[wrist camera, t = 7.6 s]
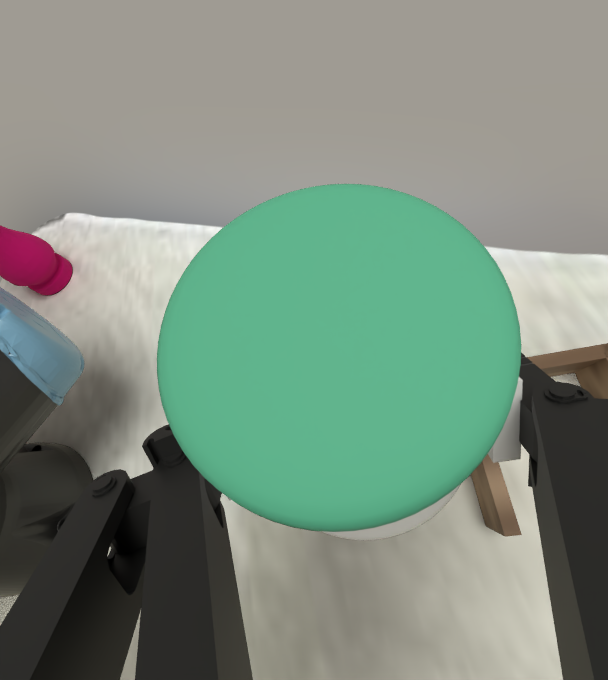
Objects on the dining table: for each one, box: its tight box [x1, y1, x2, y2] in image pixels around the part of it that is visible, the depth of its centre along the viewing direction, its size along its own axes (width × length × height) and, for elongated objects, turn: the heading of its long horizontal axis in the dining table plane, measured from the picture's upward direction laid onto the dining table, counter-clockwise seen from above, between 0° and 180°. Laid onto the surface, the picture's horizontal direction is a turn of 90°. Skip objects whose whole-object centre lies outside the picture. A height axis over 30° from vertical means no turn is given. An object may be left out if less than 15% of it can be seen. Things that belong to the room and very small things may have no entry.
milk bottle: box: [157, 184, 521, 540], centre depth 13 cm, size 8×8×20 cm
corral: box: [471, 343, 608, 536], centre depth 31 cm, size 13×13×5 cm
